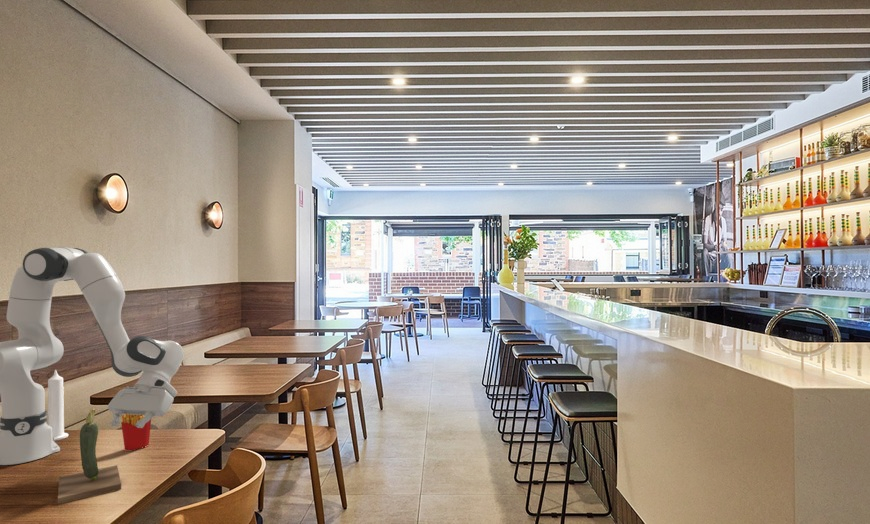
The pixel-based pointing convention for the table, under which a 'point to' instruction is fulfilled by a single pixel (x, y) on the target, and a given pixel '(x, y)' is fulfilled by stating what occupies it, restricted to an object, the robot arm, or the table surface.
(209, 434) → the table surface
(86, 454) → the vegetable
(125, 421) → the french fries
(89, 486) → the cutting board
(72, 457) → the table surface
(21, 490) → the table surface
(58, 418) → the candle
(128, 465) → the table surface
